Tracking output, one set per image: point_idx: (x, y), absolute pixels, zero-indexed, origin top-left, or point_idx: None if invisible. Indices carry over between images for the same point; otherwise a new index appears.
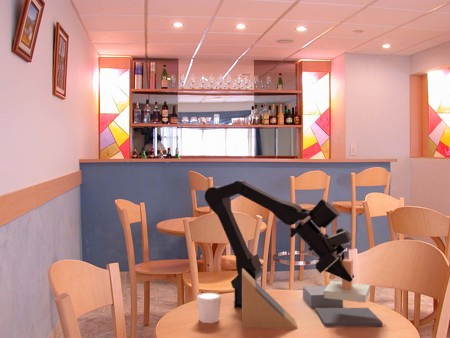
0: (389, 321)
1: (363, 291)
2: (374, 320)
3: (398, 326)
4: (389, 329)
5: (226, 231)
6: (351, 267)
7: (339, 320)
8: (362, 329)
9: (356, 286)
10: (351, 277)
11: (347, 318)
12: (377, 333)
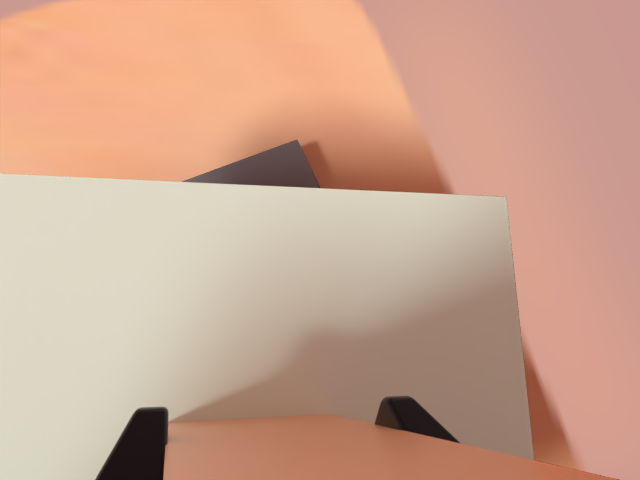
0: (158, 103)
1: (350, 232)
2: None
3: (249, 47)
4: (336, 105)
5: None
6: (452, 461)
7: None
8: None
9: (112, 366)
10: (344, 431)
11: None
12: (444, 177)
